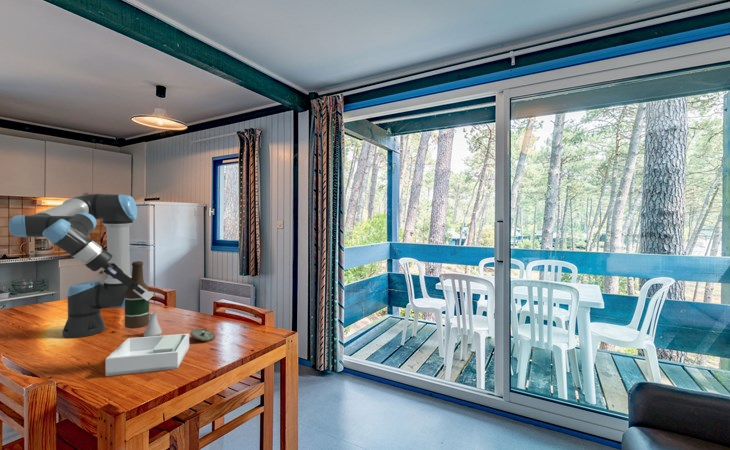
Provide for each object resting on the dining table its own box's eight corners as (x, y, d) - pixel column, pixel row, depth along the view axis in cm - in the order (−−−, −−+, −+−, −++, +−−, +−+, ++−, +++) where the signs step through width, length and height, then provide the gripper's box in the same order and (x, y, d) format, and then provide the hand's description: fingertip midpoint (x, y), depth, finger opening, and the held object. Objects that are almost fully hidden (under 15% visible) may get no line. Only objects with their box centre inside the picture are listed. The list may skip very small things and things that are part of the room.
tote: (128, 353, 133) (128, 338, 133) (189, 347, 139) (189, 333, 139) (105, 376, 114) (105, 358, 114) (177, 368, 120) (177, 352, 120)
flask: (153, 338, 150) (153, 316, 149) (139, 336, 151) (139, 314, 151) (165, 332, 157) (165, 311, 156) (152, 331, 158) (152, 310, 158)
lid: (196, 335, 154) (196, 324, 154) (218, 334, 155) (218, 324, 155) (186, 343, 144) (186, 332, 143) (209, 343, 144) (209, 332, 144)
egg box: (163, 349, 134) (163, 336, 134) (181, 348, 136) (181, 334, 136) (152, 365, 120) (152, 350, 120) (172, 363, 122) (172, 348, 122)
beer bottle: (132, 322, 128) (133, 260, 128) (153, 322, 129) (154, 260, 128) (119, 328, 121) (119, 263, 120) (141, 328, 121) (142, 263, 121)
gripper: (82, 261, 122) (135, 298, 133) (85, 268, 106) (144, 309, 118) (101, 246, 125) (151, 284, 136) (106, 251, 110) (162, 292, 121)
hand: (148, 295), depth 127 cm, fingers closed on beer bottle, 7 cm apart
